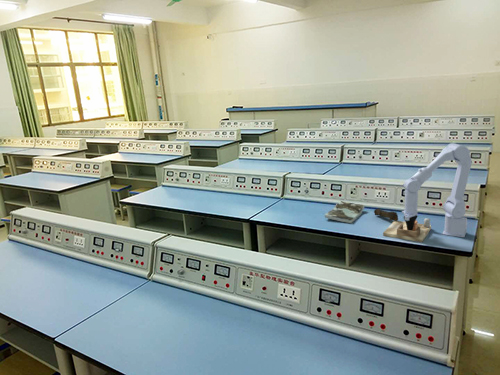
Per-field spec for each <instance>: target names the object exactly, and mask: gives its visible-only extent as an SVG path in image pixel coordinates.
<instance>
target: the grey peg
mask: <svg viewBox="0 0 500 375" xmlns="http://www.w3.org/2000/svg"><path fill="white" fill-rule="evenodd" d="M423 224H424V227H426V228H429V227H430V225H431V219H430V218H427V217H426V218H424V219H423Z"/></svg>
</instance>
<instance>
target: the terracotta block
mask: <svg viewBox="0 0 500 375" xmlns="http://www.w3.org/2000/svg"><path fill="white" fill-rule="evenodd" d="M417 223H418V220H416V221H415V223H414V227H413V231H415V230H416V229H417V228H418V227H417ZM407 230H408V229H407Z"/></svg>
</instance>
